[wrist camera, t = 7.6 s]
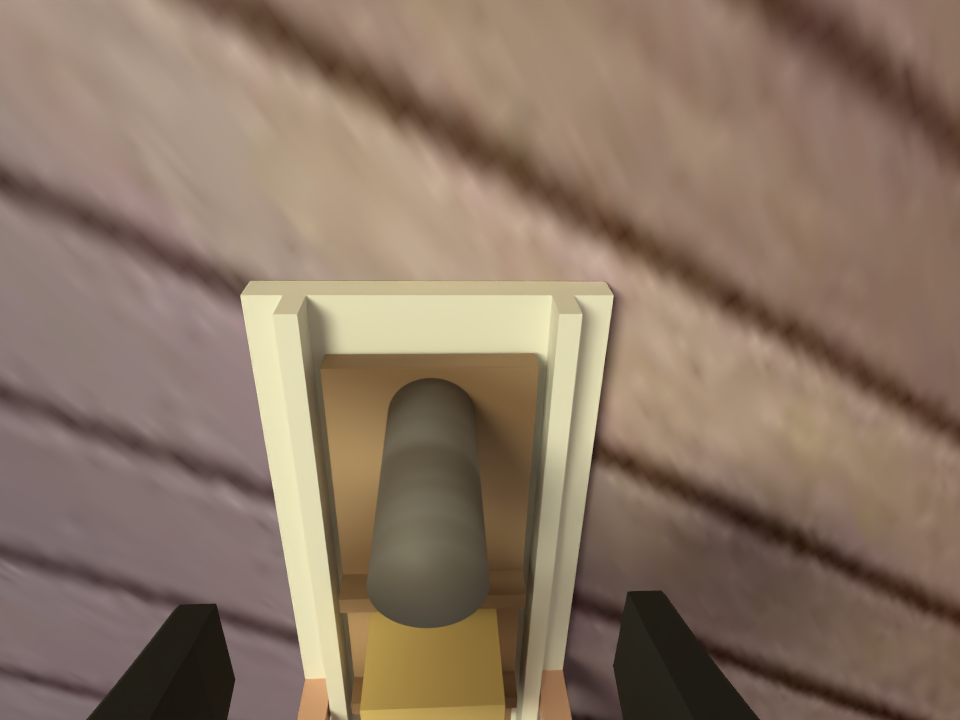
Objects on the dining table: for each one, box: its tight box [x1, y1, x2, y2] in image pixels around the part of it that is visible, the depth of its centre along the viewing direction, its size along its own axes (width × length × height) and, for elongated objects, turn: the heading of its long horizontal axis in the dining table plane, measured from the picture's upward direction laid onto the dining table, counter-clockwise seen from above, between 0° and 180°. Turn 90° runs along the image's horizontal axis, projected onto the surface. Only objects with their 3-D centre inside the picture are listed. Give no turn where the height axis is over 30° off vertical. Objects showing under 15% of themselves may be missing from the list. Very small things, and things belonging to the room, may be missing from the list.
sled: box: [320, 353, 539, 720], centre depth 19 cm, size 16×6×7 cm, turn 179°
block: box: [360, 608, 505, 720], centre depth 20 cm, size 4×4×4 cm
